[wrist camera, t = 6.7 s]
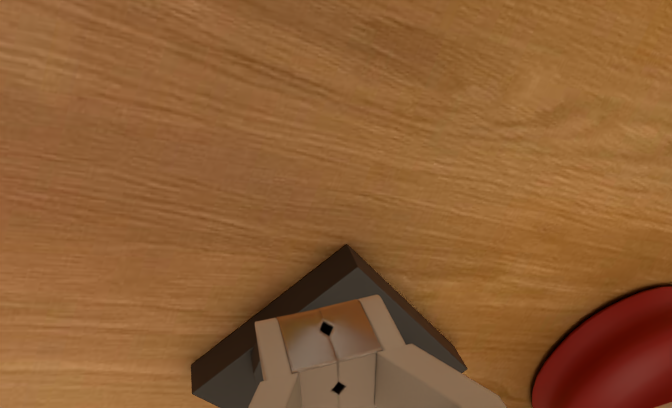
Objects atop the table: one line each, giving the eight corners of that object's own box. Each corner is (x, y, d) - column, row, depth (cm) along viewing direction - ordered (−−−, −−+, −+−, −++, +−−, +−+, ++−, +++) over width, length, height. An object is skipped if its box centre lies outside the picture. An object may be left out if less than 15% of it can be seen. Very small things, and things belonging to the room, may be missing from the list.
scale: (185, 362, 34) (187, 413, 31) (343, 239, 32) (361, 280, 29) (325, 437, 44) (337, 482, 40) (454, 346, 42) (477, 385, 38)
